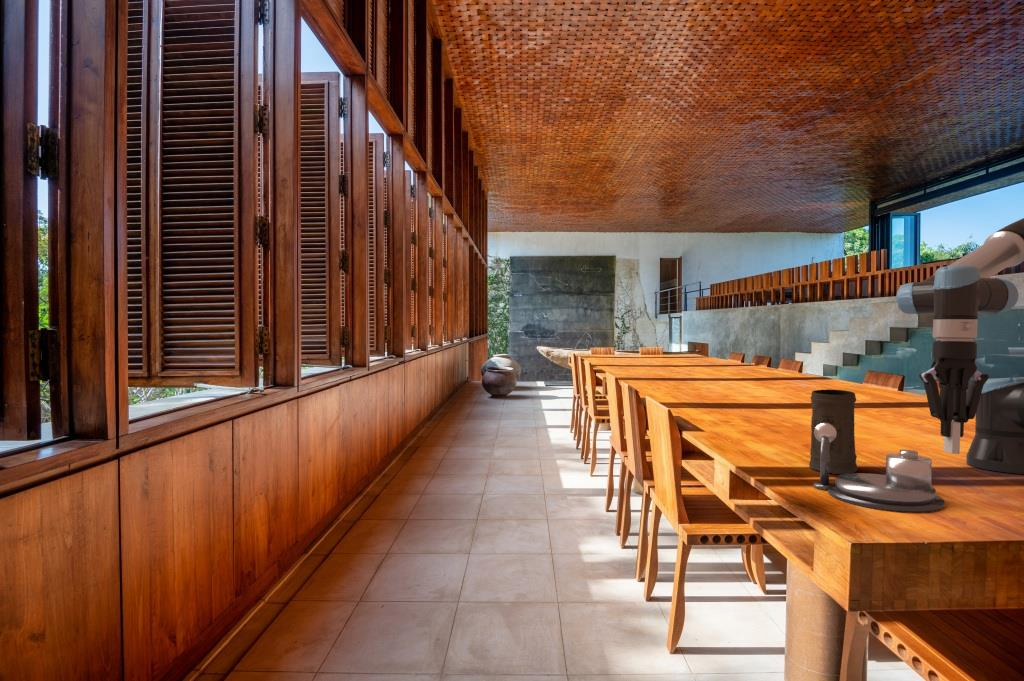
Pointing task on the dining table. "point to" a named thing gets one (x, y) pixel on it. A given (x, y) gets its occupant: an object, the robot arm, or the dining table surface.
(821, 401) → the beer stein
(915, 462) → the cover
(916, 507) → the base plate
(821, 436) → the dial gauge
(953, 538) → the dining table surface
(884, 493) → the turntable
